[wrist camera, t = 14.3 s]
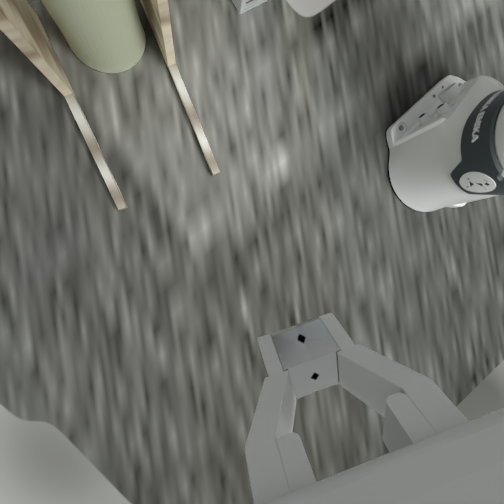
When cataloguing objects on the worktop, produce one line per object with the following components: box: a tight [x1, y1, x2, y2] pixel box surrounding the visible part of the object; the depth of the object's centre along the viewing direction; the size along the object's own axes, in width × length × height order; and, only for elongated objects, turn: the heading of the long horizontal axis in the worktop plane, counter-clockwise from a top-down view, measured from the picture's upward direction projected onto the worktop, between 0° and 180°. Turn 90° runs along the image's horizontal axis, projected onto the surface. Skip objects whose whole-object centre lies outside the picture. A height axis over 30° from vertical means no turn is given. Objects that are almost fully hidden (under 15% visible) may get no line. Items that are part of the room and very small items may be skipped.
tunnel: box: [0, 0, 220, 211], centre depth 25 cm, size 24×14×16 cm, turn 23°
